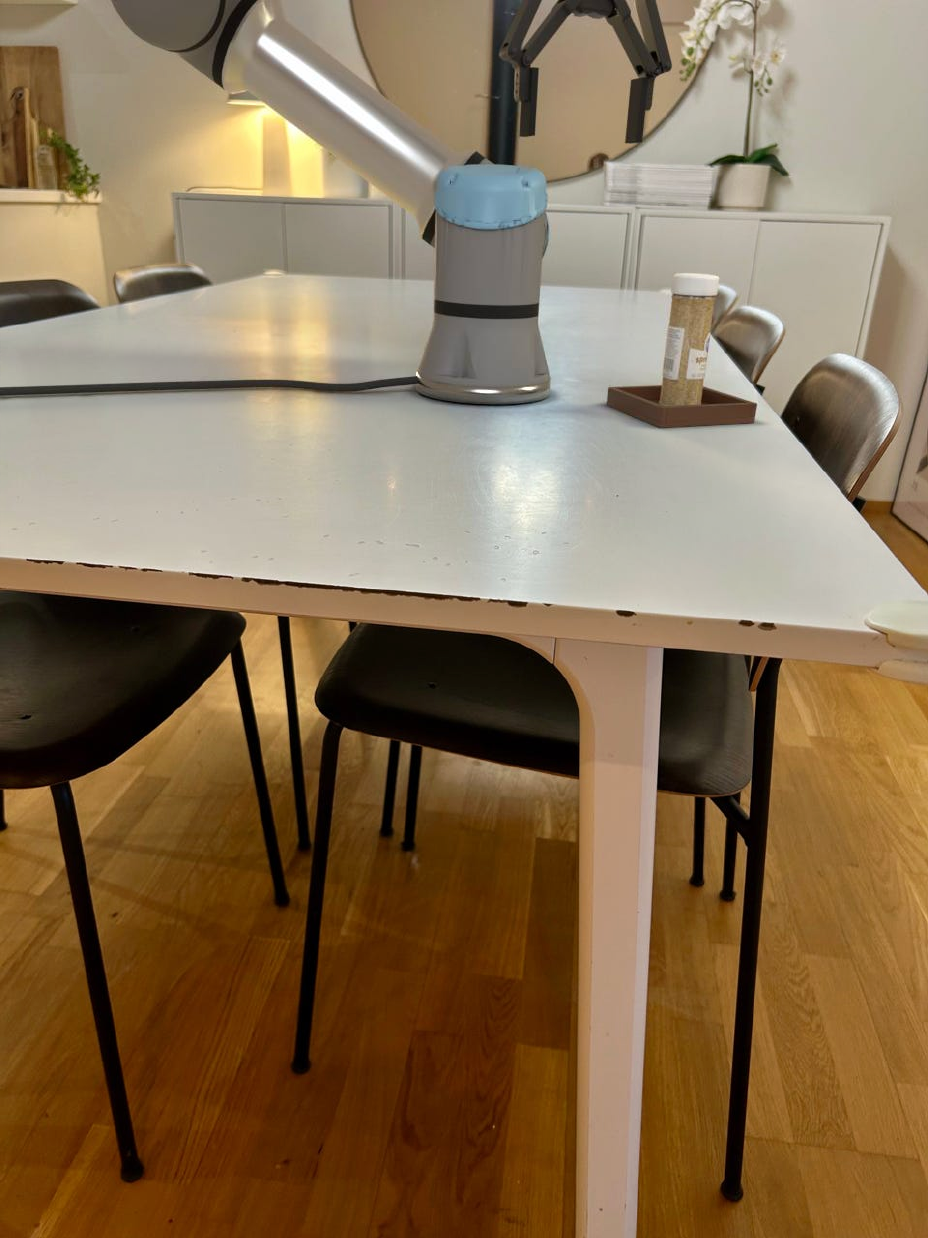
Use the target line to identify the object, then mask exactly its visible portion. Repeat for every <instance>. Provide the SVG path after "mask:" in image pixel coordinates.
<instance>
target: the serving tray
mask: <svg viewBox="0 0 928 1238" xmlns="http://www.w3.org/2000/svg"><path fill="white" fill-rule="evenodd" d="M661 388H662V384H657V385H653V384H652V385H629V386H628V385H627V386H608V387H607V396H606V407H610V408H612V409H614V410H617V411H619V412H622V413H623V414H625V415H628V416H631V417H633V418H636V419H638V420H641V421H643V422H646V423H647V424H651V425H652V426H655V427H657V428H660V429H662V428H663V429H664V428H683V427H700V426H702V427H705V426H717V425H718V426H719V425H720V426H723V425H740V424H754V423H755V420H756V419H755V418H756V412H757V407H758V403H757V402H754V401H751V400H748V399H744V398H741V397H738V396H734V395H731V394H729V393H726V392H723V391H720V390H716V389H714V388H710V387H707V386H704V385H703V389H702V397H701V405H684V406H662V405H659V404H658V403H659V401H660V397H661Z"/></svg>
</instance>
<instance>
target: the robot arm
mask: <svg viewBox="0 0 928 1238" xmlns="http://www.w3.org/2000/svg"><path fill="white" fill-rule="evenodd" d="M110 1H111V3H112V5H113V8H114V10H115V12H116V14H117V15H118V16H119V18H120V20H122V22H123V24H125V26H126V27H127V28H128V29H129V30H130V31H131V32H132V33H133V34H134V35H135V36H137V38H139V39H141V40H142V41H143V42H145V43H147V44H149V45H151V46H152V47H155V48H158V49H161V50H164V51H166V52H169V53H171V54H174V55H176V56H177V57H179V58H180V59H182V60H184V61H185V62H186V63H187V64H188V65H190V66H191V67H193V68H194V69H196V70H197V71H198V72H199V73H201V74H202V75H203V76H205V77H206V78H208V79H210V81H212V82H213V83H214V84H216V85H217V86H218V87H219V88H220V89H223V91H225V92H226V93H228V94H229V95H235V94H240V93H244V92H249V93H250V94H252V95H253V96H254V97H255V98H257V99H258V100H259V101H261V102H263V104H265V105H266V106H268V107H269V108H270V109H271V110H273V111H274V112H275V113H277V114H278V115H279V116H281V117H282V118H283V119H284V120H286V121H287V122H288V123H290V124H291V125H292V126H294V127H295V128H296V129H298V130H300V131H301V132H302V133H303V134H305V136H307V137H308V138H310V139H311V140H313V142H315V143H316V144H318V145H319V146H321V147H322V148H323V149H324V150H326V151H327V152H328V153H330V154H331V155H332V156H334V157H335V158H336V159H337V160H339V161H340V162H341V163H342V164H344V165H346V167H348V168H349V169H351V170H352V171H353V172H354V173H356V174H357V175H359V176H360V177H361V178H363V179H364V180H365V181H367V182H368V183H369V184H370V185H372V186H373V187H374V188H376V189H377V190H378V191H380V193H382V194H384V195H385V196H386V197H387V198H388V199H390V200H392V201H393V202H394V203H395V204H397V205H398V206H400V208H402V209H403V210H405V211H406V212H408V213H409V214H410V215H412V216H413V217H414V218H415V221H416V224H417V229H418V234H419V238H420V239H422V240H423V241H424V242H426V244H428V245H430V246H431V247H432V248H433V249H434V269H433V270H434V271H433V272H434V276H433V278H434V279H433V319H432V324H431V326H430V331H429V334H428V337H427V340H426V342H425V346H424V348H423V352H422V355H421V358H420V361H419V364H418V367H417V371H416V375H413V376H402V377H393V378H385V379H377V380H371V381H363V382H356V383H329V382H317V381H306V380H294V379H229V380H228V379H225V380H223V379H222V380H221V379H220V380H188V381H186V380H185V381H183V380H182V381H157V382H156V381H150V382H148V381H147V382H119V383H91V384H89V383H88V384H61V385H59V384H58V385H57V384H56V385H29V386H27V385H26V386H25V385H24V386H0V397H8V396H11V397H13V396H39V395H67V394H68V395H69V394H94V393H97V394H98V393H122V392H123V393H124V392H151V391H155V392H156V391H183V390H185V391H186V390H216V389H217V390H221V389H247V388H248V389H249V388H251V389H252V388H273V389H274V388H275V389H278V388H280V389H281V388H283V389H296V390H297V389H299V390H307V391H319V392H335V393H336V392H337V393H339V392H340V393H346V392H347V393H348V392H350V393H351V392H361V391H369V390H375V389H383V388H393V387H400V386H409V385H411V386H412V385H415V386H416V388H415V389H416V391H417V392H418V394H421V395H423V396H426V397H428V398H432V399H435V400H436V399H437V400H442V401H448V402H455V403H463V404H476V405H477V404H478V405H513V404H525V403H526V404H527V403H533V402H537V401H541V400H544V399H546V398H548V397H549V396H550V393H551V380H552V379H551V373H550V369H549V365H548V361H547V356H546V352H545V349H544V343H543V340H542V336H541V332H540V327H539V314H540V301H541V299H540V298H541V283H542V267H543V259H544V257H545V255H546V251H547V248H548V246H549V240H550V225H549V217H548V214H547V211H546V209H547V207H548V203H549V195H548V193H547V178H546V176H545V174H544V173H543V172H542V171H541V170H539V169H537V168H534V167H526V166H522V165H510V164H494V163H493V162H492V161H491V160H489V159H488V158H486V157H485V156H484V155H482V154H481V153H480V152H479V151H477V150H476V149H469V150H465V151H455V150H454V149H453V148H451V147H450V146H449V145H447V144H446V143H445V142H444V141H442V140H441V139H440V138H438V137H437V136H436V135H434V134H433V133H431V132H430V131H429V130H428V129H427V128H426V127H424V126H422V125H421V124H420V123H419V122H418V121H416V120H415V119H414V118H412V117H411V116H410V115H409V114H407V113H406V112H405V111H404V110H402V109H401V108H399V107H398V106H397V105H396V104H394V103H393V102H392V101H391V100H390V99H388V98H387V97H385V95H383V94H382V93H380V92H379V91H378V90H376V89H375V88H374V87H373V86H371V85H370V84H369V83H367V82H366V81H365V80H363V79H362V78H361V77H359V76H358V75H357V74H356V73H355V72H353V71H352V70H351V69H350V68H348V67H347V66H345V65H344V64H343V63H342V62H341V61H339V60H338V59H336V58H335V57H334V56H332V54H330V53H329V52H328V51H326V50H325V49H323V48H322V47H321V46H320V45H319V44H317V43H316V42H315V41H313V40H312V39H311V38H309V37H308V36H307V35H306V34H304V33H303V32H302V31H300V30H299V29H298V28H297V27H295V26H294V25H292V24H291V23H290V22H289V21H288V20H286V18H285V14H284V9H283V4H282V0H110ZM542 2H543V0H522V1H521V2H520V4H519V7H518V10H517V11H516V14H515V16H514V18H513V20H512V23H511V25H510V27H509V29H508V31H507V34H506V36H505V38H504V40H503V43H502V45H501V47H500V49H499V52H498V56H499V59H501V60H503V61H506V62H508V63H510V64H511V67H512V69H513V70H514V89H513V98H514V102H517V103H519V102H520V114H519V115H520V116H519V132H518V133H519V137H520V138H528V137H535V136H536V125H537V108H538V107H537V106H538V91H539V90H538V89H539V71H540V67H536V66H532V64H533V63H534V62H535V60H536V59H537V57H539V55H540V53H542V51H543V50H544V49H545V47H546V46H547V44H549V42H550V40H551V39H552V38H553V37H554V35H555V34H556V33H557V32H558V30H559V29H560V28H561V26H562V25H563V24H564V23H565V21H566V19H568V17H569V16H571V15H572V14H573V17H576V18H577V17H578V18H581V17H582V18H583V17H586V16H587V17H589V18H591V19H595V20H601V19H603V18H605V20H606V22H607V23H608V25H609V26H611V27H612V29H613V31H614V33H615V35H616V37H617V38H618V41H619V43H620V45H621V47H622V48H623V50H624V52H625V55H626V56H627V58H628V61H629V62H630V64H631V67H632V69H633V70H634V71H635V74H636V76H637V78H633V79H630V86H629V95H628V97H629V98H628V107H627V119H626V127H625V129H626V130H625V140H624V144H631V145H632V144H641V143H643V138H644V128H645V119H646V112H649V111H650V110H651V108H652V106H653V99H654V87H655V81H656V78H657V77H659V76H660V75H663V74H665V73H670V72H671V70H672V68H673V63H672V59H671V56H670V55H671V54H670V51H669V47H668V44H667V39H666V36H665V32H664V28H663V27H664V26H663V24H662V23H663V22H662V19H661V16H660V15H661V14H660V12H659V7H658V4H657V0H634V1H633V2H634V7H635V12H636V16H637V20H638V23H639V27H640V30H641V33H640V31H639V29H638V27H637V25H636V23H635V21H634V19H633V17H632V15H631V14H632V9H631V8H630V6H629V3H628V2H627V0H557V1H556V2H555V4H554V5H553V6H552V7H551V10H550V11H549V13H548V15H547V16H546V17H545V18H544V19H543V21H542V22H541V24H540V25H539V26H538V28H537V29H536V30H535V31H534V33H533V34H532V35H531V36H530V38H529V39H528V40H527V42H526V43H525V45H523V43H524V41H525V38H526V36H527V34H528V31H529V30H530V27H531V25H532V23H533V21H534V18H535V16H536V14H537V12H538V10H539V8H540V6H541V4H542ZM522 45H523V47H522ZM521 47H522V49H521Z"/></svg>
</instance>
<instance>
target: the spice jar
mask: <svg viewBox="0 0 928 1238" xmlns="http://www.w3.org/2000/svg"><path fill="white" fill-rule="evenodd" d="M719 286H720V277H719V275H714V274H710V273H698V272H681V273H675V274H674V275H673V277H672V281H671V289H670V292H671V304H670V313H669V320H668V321H669V322H668V325H667V331H666V340H665V349H664V357H663V358H664V359H663V366H662V374H661V375H662V382H661V385H662V388H661V397H660V401H659V403H658V404H659V405H662V406H684V405H701V397H702V389H703V386H704V380H705V377H706V370H707V363H708V357H709V356H708V355H709V347H710V340H711V329H712V321H713V313H714V307H715V301H716V296H717V295H718V294H719V293H718V291H719Z"/></svg>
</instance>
